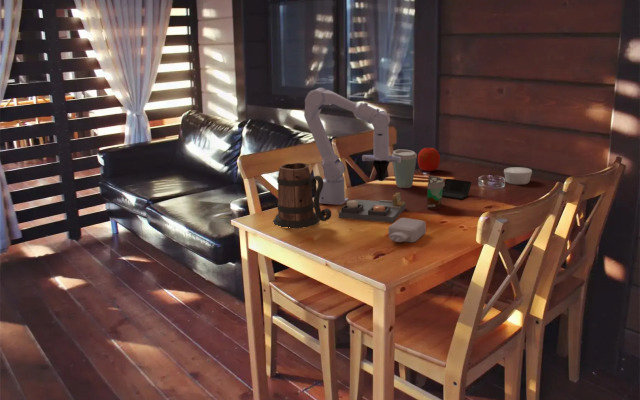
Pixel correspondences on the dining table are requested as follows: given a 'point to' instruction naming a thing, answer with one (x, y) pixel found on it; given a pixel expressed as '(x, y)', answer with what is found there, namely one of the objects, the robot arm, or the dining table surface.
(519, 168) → the ramekin
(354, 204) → the cream button
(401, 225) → the grey plastic bottle
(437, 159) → the apple
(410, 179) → the disposable coffee cup
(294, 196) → the tankard
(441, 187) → the food container
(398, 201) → the tall mustard sponge block
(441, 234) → the dining table surface
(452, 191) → the handheld gaming console
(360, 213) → the control panel
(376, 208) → the terracotta button
